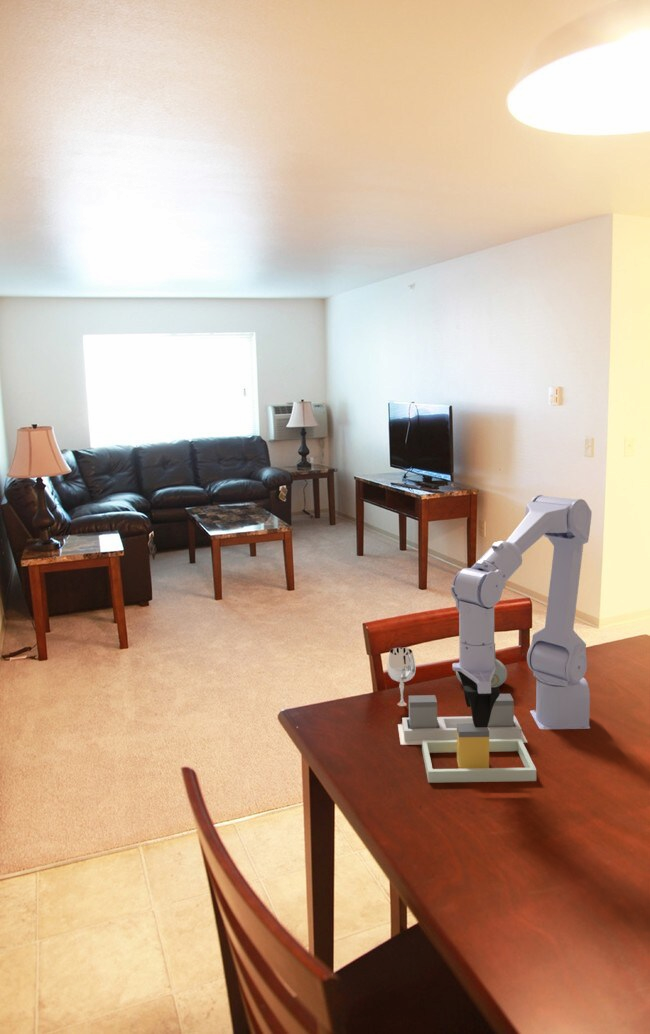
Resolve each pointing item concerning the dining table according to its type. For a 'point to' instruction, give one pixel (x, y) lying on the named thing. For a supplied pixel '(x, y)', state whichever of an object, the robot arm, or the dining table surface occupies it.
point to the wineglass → (401, 667)
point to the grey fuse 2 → (502, 712)
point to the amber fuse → (472, 746)
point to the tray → (479, 773)
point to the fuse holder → (453, 731)
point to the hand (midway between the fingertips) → (476, 715)
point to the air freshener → (495, 673)
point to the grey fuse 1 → (422, 712)
